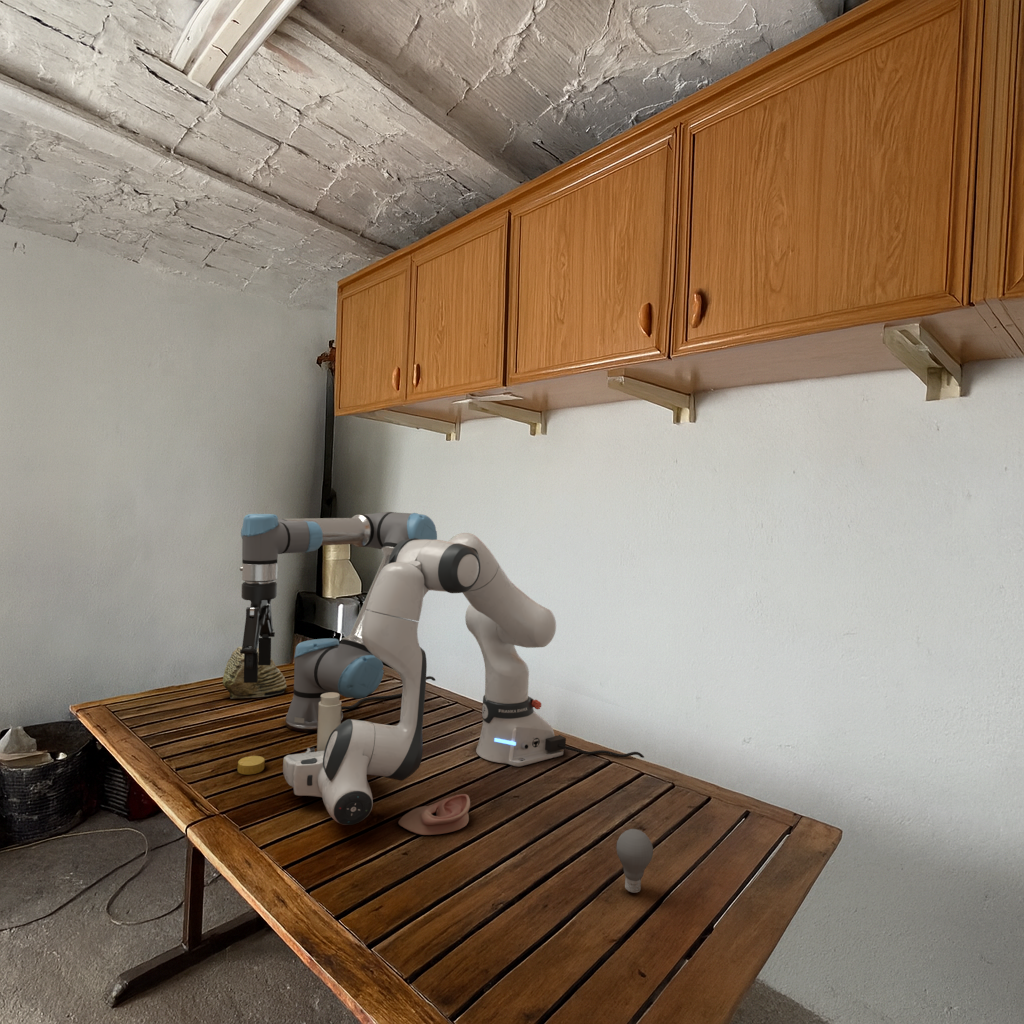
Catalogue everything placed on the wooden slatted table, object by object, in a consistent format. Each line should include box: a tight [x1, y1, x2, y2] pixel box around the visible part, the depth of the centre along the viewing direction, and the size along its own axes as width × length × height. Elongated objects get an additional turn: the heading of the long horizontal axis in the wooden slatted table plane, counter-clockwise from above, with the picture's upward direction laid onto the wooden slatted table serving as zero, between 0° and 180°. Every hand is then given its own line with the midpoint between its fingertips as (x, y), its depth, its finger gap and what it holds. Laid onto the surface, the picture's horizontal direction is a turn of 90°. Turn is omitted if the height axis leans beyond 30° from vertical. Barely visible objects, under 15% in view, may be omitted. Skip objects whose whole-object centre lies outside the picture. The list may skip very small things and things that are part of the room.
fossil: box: [222, 646, 288, 699], centre depth 198 cm, size 9×18×15 cm, turn 132°
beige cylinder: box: [316, 692, 343, 751], centre depth 143 cm, size 5×5×19 cm
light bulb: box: [615, 828, 654, 894], centre depth 106 cm, size 6×6×10 cm
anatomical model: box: [397, 793, 471, 836], centre depth 125 cm, size 13×4×12 cm
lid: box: [236, 755, 266, 776], centre depth 145 cm, size 6×6×2 cm
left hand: (257, 673), depth 146 cm, fingers open, 13 cm apart
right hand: (327, 748), depth 144 cm, fingers open, 6 cm apart
